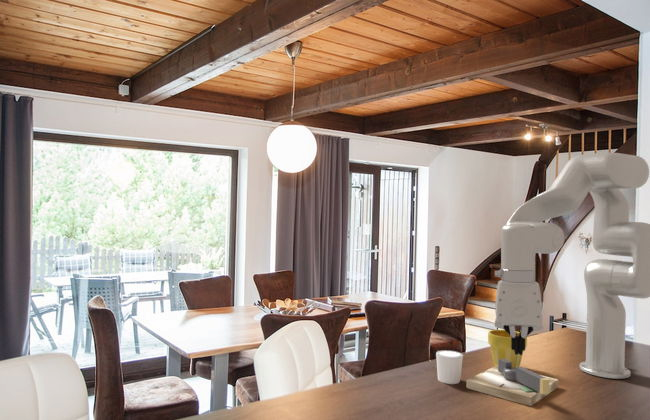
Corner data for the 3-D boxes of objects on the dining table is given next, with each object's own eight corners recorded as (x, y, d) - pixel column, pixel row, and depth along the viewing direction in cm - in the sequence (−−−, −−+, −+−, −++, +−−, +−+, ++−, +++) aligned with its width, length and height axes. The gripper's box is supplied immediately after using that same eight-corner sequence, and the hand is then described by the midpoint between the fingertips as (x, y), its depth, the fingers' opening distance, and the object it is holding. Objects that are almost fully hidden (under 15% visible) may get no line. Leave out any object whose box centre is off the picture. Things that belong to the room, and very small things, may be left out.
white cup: (463, 385, 127) (464, 358, 127) (435, 383, 129) (436, 356, 129) (461, 377, 134) (462, 351, 134) (435, 374, 136) (435, 348, 136)
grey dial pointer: (493, 372, 131) (494, 359, 131) (508, 371, 132) (508, 358, 132) (538, 395, 115) (538, 380, 115) (553, 393, 117) (554, 379, 117)
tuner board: (497, 372, 139) (497, 364, 139) (559, 387, 128) (559, 378, 128) (466, 388, 126) (466, 379, 126) (532, 406, 115) (532, 396, 115)
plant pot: (503, 360, 151) (504, 327, 151) (533, 370, 142) (534, 335, 142) (479, 365, 145) (480, 331, 145) (510, 375, 136) (511, 339, 136)
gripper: (485, 277, 117) (485, 355, 118) (554, 280, 113) (554, 360, 114) (484, 272, 125) (484, 346, 125) (549, 274, 121) (549, 350, 121)
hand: (518, 352), depth 120 cm, fingers closed
